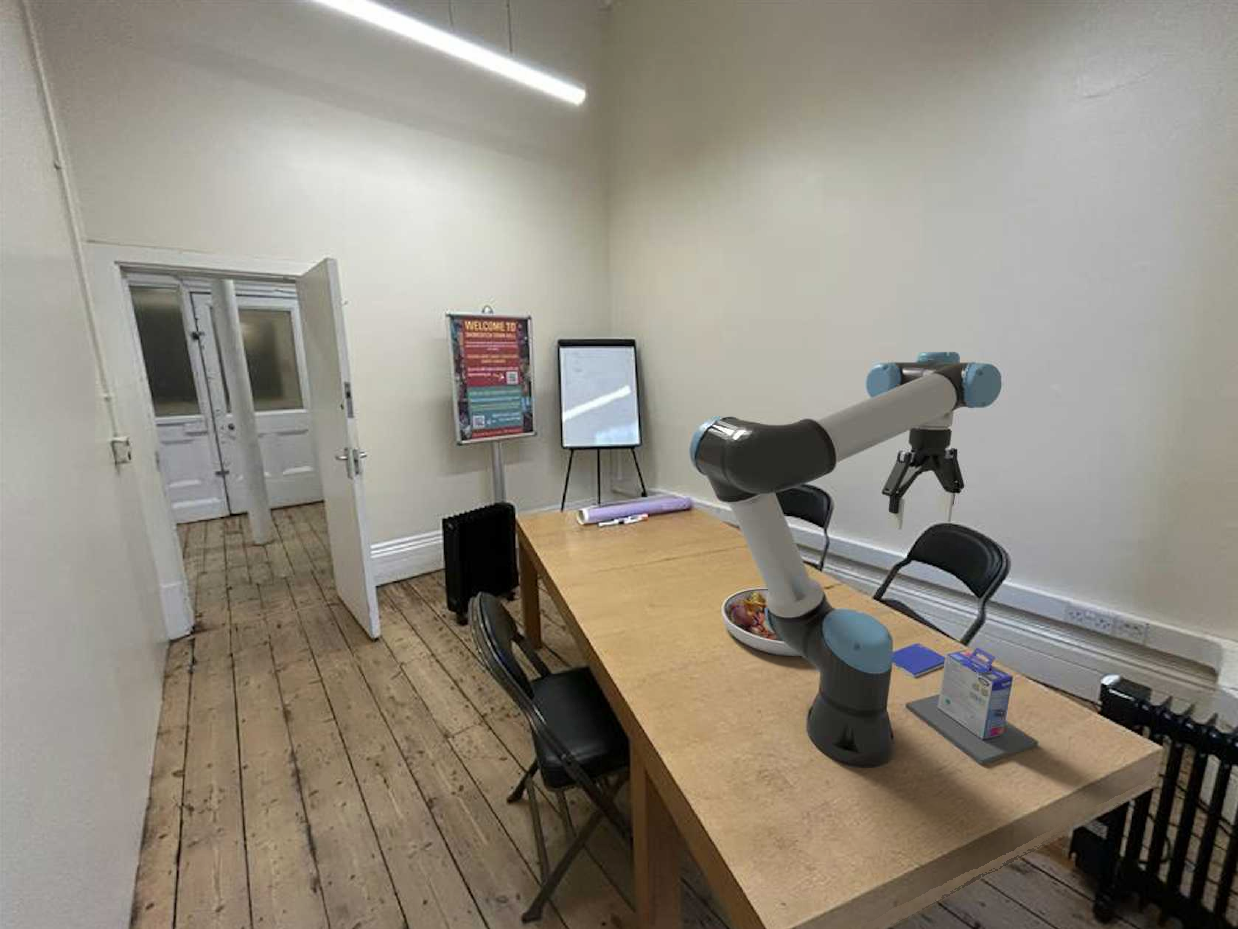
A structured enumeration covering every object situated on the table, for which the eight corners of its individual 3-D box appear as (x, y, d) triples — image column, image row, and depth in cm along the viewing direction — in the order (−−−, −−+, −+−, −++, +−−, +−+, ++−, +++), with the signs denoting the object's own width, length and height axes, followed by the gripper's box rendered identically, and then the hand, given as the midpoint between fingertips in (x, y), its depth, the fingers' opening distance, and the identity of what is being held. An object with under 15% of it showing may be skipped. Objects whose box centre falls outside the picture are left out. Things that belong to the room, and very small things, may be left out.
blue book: (917, 642, 127) (882, 654, 122) (949, 659, 119) (914, 673, 114) (916, 648, 127) (881, 660, 122) (949, 665, 120) (913, 679, 115)
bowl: (791, 596, 154) (793, 572, 153) (867, 649, 126) (869, 620, 125) (701, 613, 145) (702, 587, 144) (761, 673, 117) (763, 642, 116)
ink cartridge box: (1005, 735, 96) (1017, 665, 93) (984, 742, 94) (995, 671, 91) (956, 702, 105) (965, 638, 102) (936, 708, 103) (944, 643, 100)
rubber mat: (980, 765, 90) (981, 760, 90) (905, 707, 105) (906, 703, 105) (1037, 746, 94) (1038, 741, 94) (957, 693, 109) (957, 689, 109)
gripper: (898, 432, 100) (887, 536, 104) (992, 426, 107) (978, 522, 112) (869, 428, 107) (860, 525, 111) (959, 422, 114) (947, 513, 119)
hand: (919, 524), depth 111 cm, fingers open, 13 cm apart
